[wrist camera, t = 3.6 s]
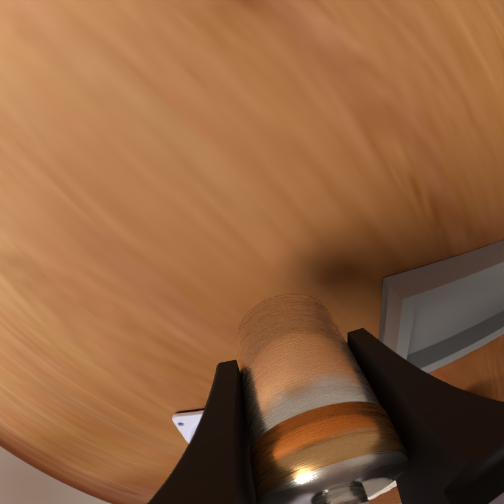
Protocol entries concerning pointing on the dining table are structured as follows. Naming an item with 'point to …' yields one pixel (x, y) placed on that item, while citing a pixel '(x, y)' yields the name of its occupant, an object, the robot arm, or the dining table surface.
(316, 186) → the dining table surface
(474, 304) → the trough
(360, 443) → the cell
